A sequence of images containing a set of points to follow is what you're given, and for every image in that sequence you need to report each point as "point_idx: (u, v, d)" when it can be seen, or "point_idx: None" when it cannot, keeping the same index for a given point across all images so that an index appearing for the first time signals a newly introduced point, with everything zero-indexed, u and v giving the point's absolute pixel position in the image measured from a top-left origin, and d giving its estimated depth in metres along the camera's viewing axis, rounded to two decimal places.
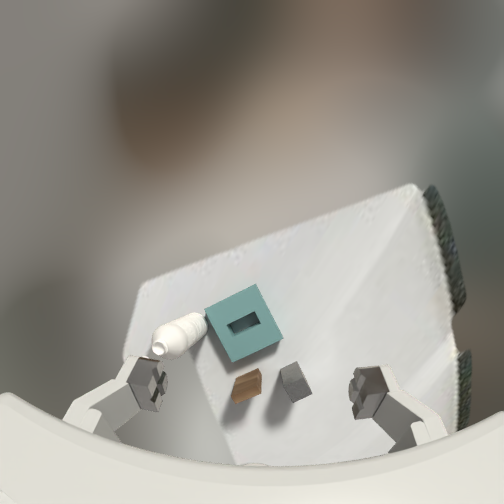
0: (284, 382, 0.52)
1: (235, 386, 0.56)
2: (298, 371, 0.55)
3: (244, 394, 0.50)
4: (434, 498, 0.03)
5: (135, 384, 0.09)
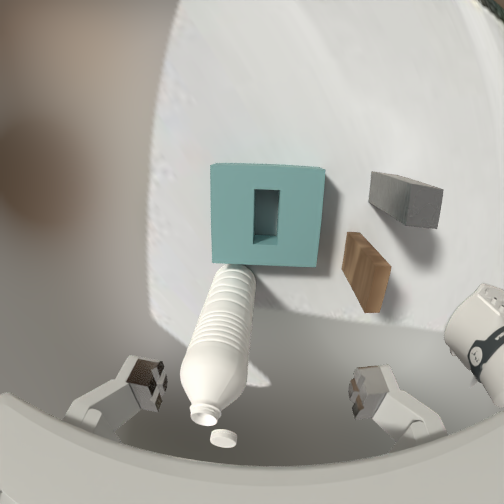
0: (397, 217, 0.27)
1: (353, 286, 0.34)
2: (392, 181, 0.28)
3: (376, 291, 0.28)
4: (434, 498, 0.03)
5: (135, 384, 0.08)
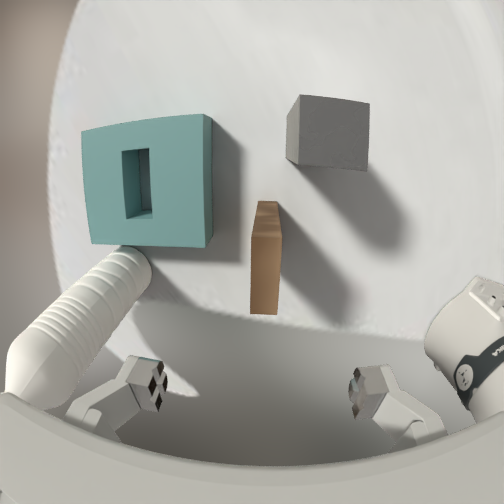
0: (294, 158, 0.18)
1: None
2: (292, 112, 0.19)
3: (261, 280, 0.19)
4: (434, 498, 0.03)
5: (135, 384, 0.09)
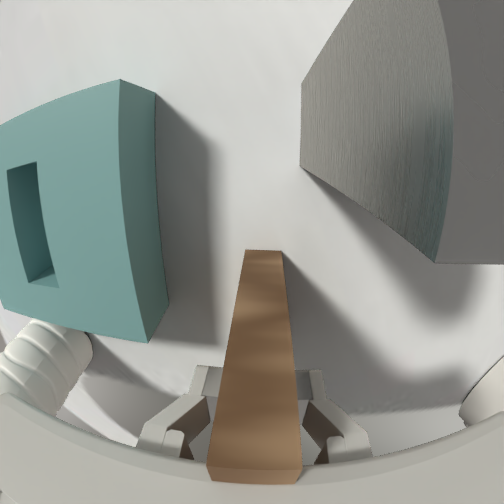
0: (370, 192, 0.04)
1: None
2: (334, 46, 0.05)
3: None
4: (433, 498, 0.03)
5: (213, 396, 0.08)
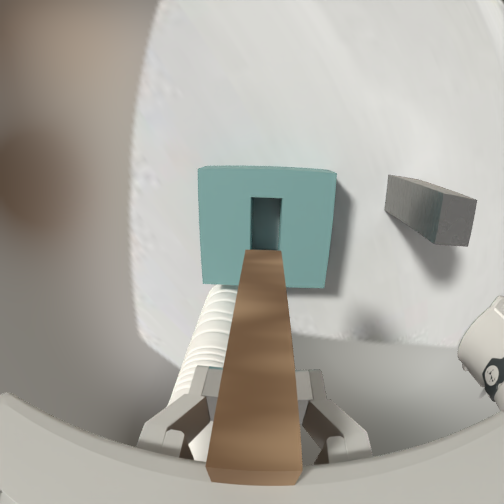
0: (423, 232, 0.21)
1: None
2: (416, 189, 0.22)
3: None
4: (434, 498, 0.03)
5: (213, 396, 0.08)
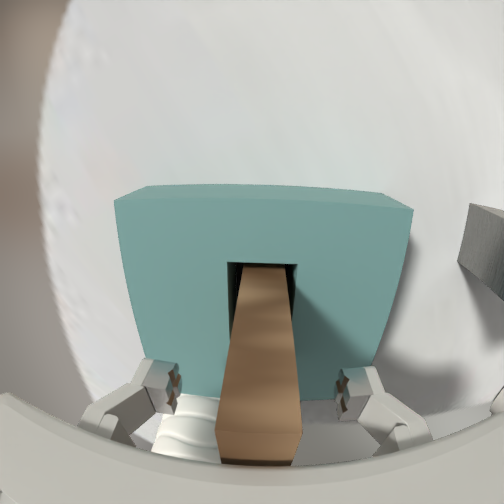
0: None
1: None
2: None
3: None
4: (434, 498, 0.03)
5: (152, 387, 0.08)
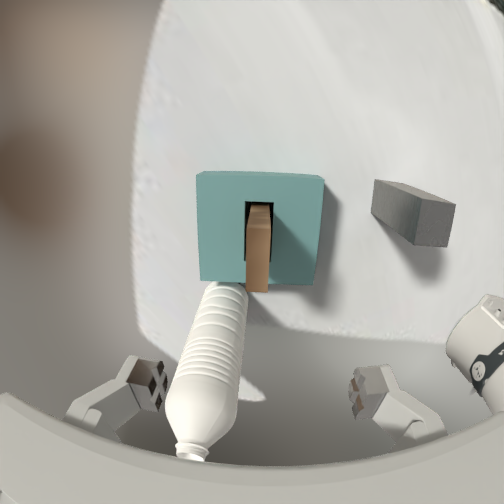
0: (404, 234, 0.24)
1: None
2: (398, 193, 0.25)
3: (254, 263, 0.24)
4: (434, 498, 0.03)
5: (135, 384, 0.09)
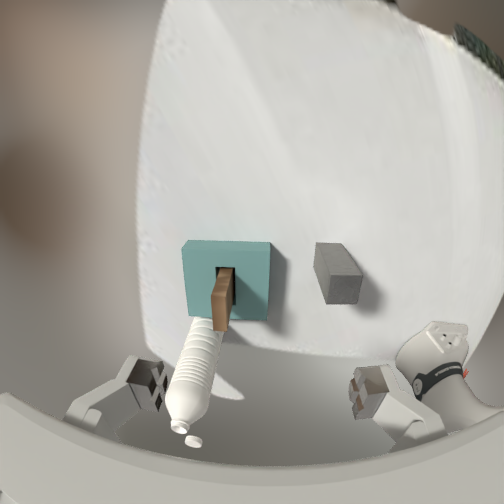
0: (323, 294, 0.37)
1: None
2: (323, 263, 0.38)
3: (217, 315, 0.37)
4: (434, 498, 0.03)
5: (135, 384, 0.09)
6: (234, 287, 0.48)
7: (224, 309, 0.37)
